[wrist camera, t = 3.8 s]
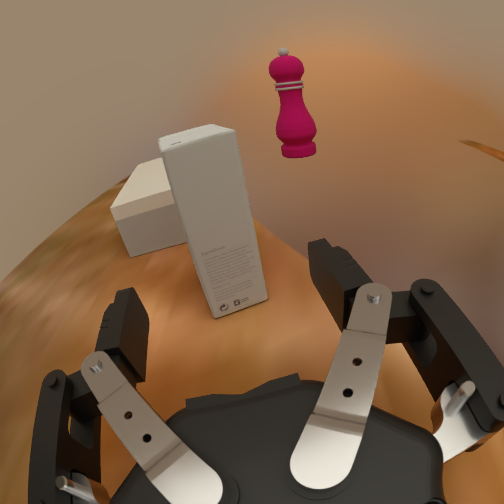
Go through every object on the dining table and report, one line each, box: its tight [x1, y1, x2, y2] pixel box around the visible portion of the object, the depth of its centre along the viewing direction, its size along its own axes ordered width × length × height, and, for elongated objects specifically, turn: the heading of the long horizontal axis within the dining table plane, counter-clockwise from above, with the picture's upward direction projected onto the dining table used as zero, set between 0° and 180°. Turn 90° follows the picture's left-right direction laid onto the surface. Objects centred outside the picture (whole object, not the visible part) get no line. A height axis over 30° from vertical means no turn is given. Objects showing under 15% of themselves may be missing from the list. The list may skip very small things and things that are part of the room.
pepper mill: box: [269, 48, 316, 158], centre depth 46 cm, size 7×7×20 cm
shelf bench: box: [110, 157, 187, 257], centre depth 36 cm, size 12×18×6 cm, turn 11°
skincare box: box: [158, 124, 268, 318], centre depth 20 cm, size 6×4×12 cm
